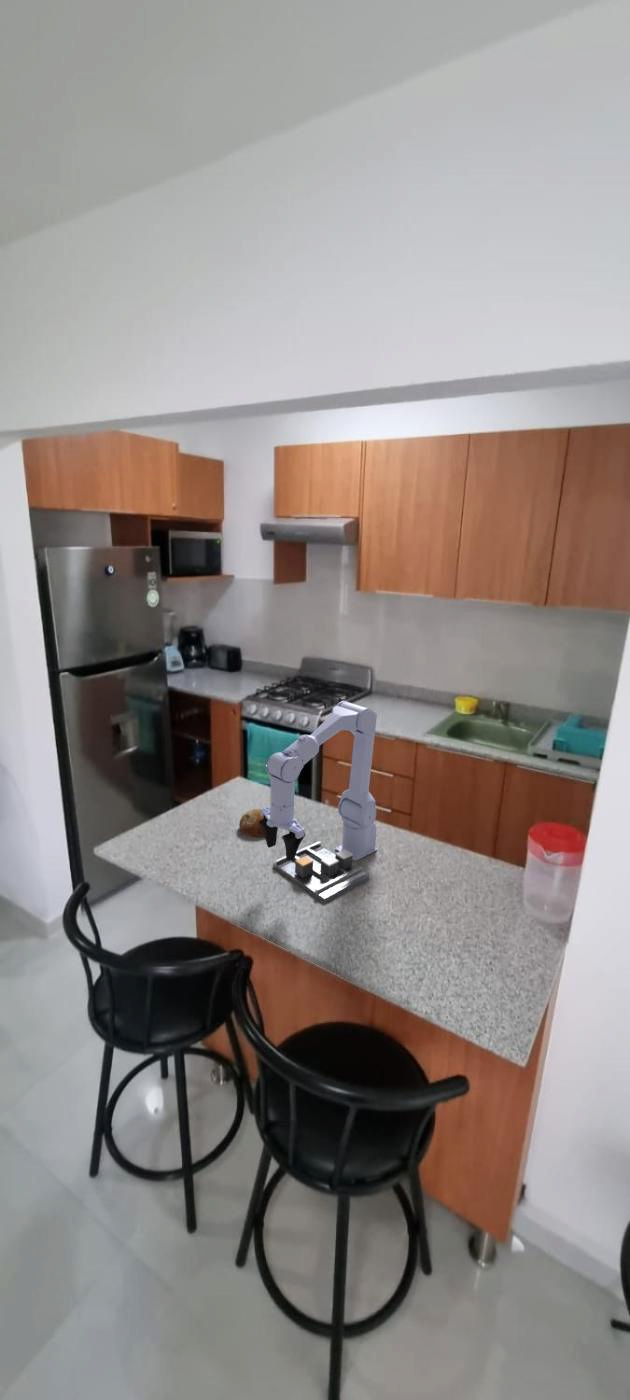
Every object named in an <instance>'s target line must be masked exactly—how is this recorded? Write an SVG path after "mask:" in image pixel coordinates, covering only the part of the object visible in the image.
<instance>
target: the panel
mask: <svg viewBox="0 0 630 1400" xmlns="http://www.w3.org/2000/svg"><path fill="white" fill-rule="evenodd" d="M304 856H306V857H308V858H309V859H311V860H313V873H312V874H310V875H308V876H306V877H304V878H302V877H301V876H299V875H298V874H296V873H295V861H296V860H298V859H300V858H302V857H304ZM329 856H332V857H334V858H335V857H336V853H334V852H332V851H330V850H329V849H327V848H325V847H324V846H322V842H321V841H316V842H315V843H312V844H310V845H308V846H305V847H302V848H300V849H298V850H297V853H296V856H295V859H292V860H290V861H288V860H287V859H286V855H285V856H282V857H280V858H278V859H275V860H274V862H272V867H273V868H274V869H275V870H277V871H278V872H279V873H281V874H282V875H283V876H285V877H287V878H288V879H290V880H291V882H294V883H295V884H297V886H299V887H301V888H302V889H303V890H305V891H306V892H308V893H309V894H311V895H312V896H313V897H315V898H316V899H318V900H319V901H320V902H322V903H323V904H325V903H327V902H329V901H330V900H332V899H335V898H336V897H339V896H340V895H342V894H344V893H346V892H347V891H348V892H349V890H351V889H353V888H355V887H357V886H359V885H360V884H362V883H365V882H366V881H368V880H369V879H370V874H368V873H367V872H365V871H364V870H363V867H362V866H361V865H359V866H355V865H354V864H352V866H351V867H349V868H347V869H345V870H344V869H342V868H340V867H339V866H338V873H337V874H335V875H333V876H331V877H328V876H327V875H325V874H324V873H322V872H321V860H322V859H325V858H327V857H329Z"/></svg>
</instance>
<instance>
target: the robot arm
mask: <svg viewBox="0 0 630 1400" xmlns="http://www.w3.org/2000/svg"><path fill="white" fill-rule="evenodd" d="M377 717H378V714H377V713H376V712H375V711H374V710H373V709H372V708H370V707H365V706H361V705H359V704H356V703H351V702H349V701H347V700H342V701H340V702H338V703H337V705H335V706H333V707H332V710H331V714H330V715H329V716H328V717H327V718H326V719H325V720H324V721H323V722H322V723H321V724H320V725H319V726H318V727H317V728H316V729H315V730H313V732H311V734H302V735H299V736H298V737H297V739H296V740H295V741H294V742H292V743H291V744H290V745H289V746H288V747H286V748H285V749H284V750H283V751H278V752H275V753H273V754H272V755H270V756H269V758H268V760H267V763H266V765H265V766H264V767H265V772H267V774H268V776H269V777H268V780H269V782H270V791H269V792H270V798H269V799H270V800H269V801H270V804H269V805H270V807H268V806H266V807H262V808H260V809H261V816H262V817H264V818H263V819H262V820H260V821H259V825H260V826H261V828H262V830H263V832H264V835H265V836H264V838H265V842H266V846H267V848H269V849H270V848H272V847H275V846H276V845H277V839H278V830H279V829H281V830H282V829H283V830H286V831H288V833H286V834H284V835H282V836H281V838H282V840H283V843H284V848H285V856H286V859H287V860H288V861H290V860H292V859H295V856H296V853H297V851H298V850H299V848H300V847H299V846H300V845H301V843H302V841H303V840H304V838H306V832H305V828H304V827H303V826H301V825H300V824H299V822H298V821H297V819H296V818H295V817H294V816H295V787H296V784H295V783H296V780H298V778H299V776H300V773H301V772H302V769H303V768H304V767H305V765H306V764H307V763H308V762H309V761H311V760H312V759H313V758H314V757H315V756H316V755H318V753H319V751H320V746H321V745H322V744H324V743H325V742H327V740H330V739H331V738H332V737H334V736H335V735H337V734H338V733H339V732H341V731H346V732H347V731H349V732H351V734H353V736H354V738H353V744H352V745H353V747H352V756H351V765H350V775H349V783H348V784H349V785H348V789H346V790H344V791H343V792H342V793H341V797H340V800H339V803H338V805H337V813H338V814H339V815H340V817H341V821H342V822H343V824H342V839H341V841H342V842H341V844H340V845H339V846H336V847H335V848H334V849H335V850H336V851H338V852H340V851H342V850H344V849H345V850H347V851H349V852H351V853H352V854H353V859H352V861H354V862H356V861H358V860H360V859H362V858H364V857H366V856H368V855H370V854H373V853H374V852H377V851H378V847H376V841H377V840H376V839H377V825H376V823H375V821H376V818H377V808H376V803H377V802H376V800H375V797H373V795H372V794H371V793H370V791H369V789H370V779H371V771H372V770H371V769H372V761H373V755H374V754H373V753H374V752H373V751H374V745H375V736H376V725H377Z"/></svg>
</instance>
